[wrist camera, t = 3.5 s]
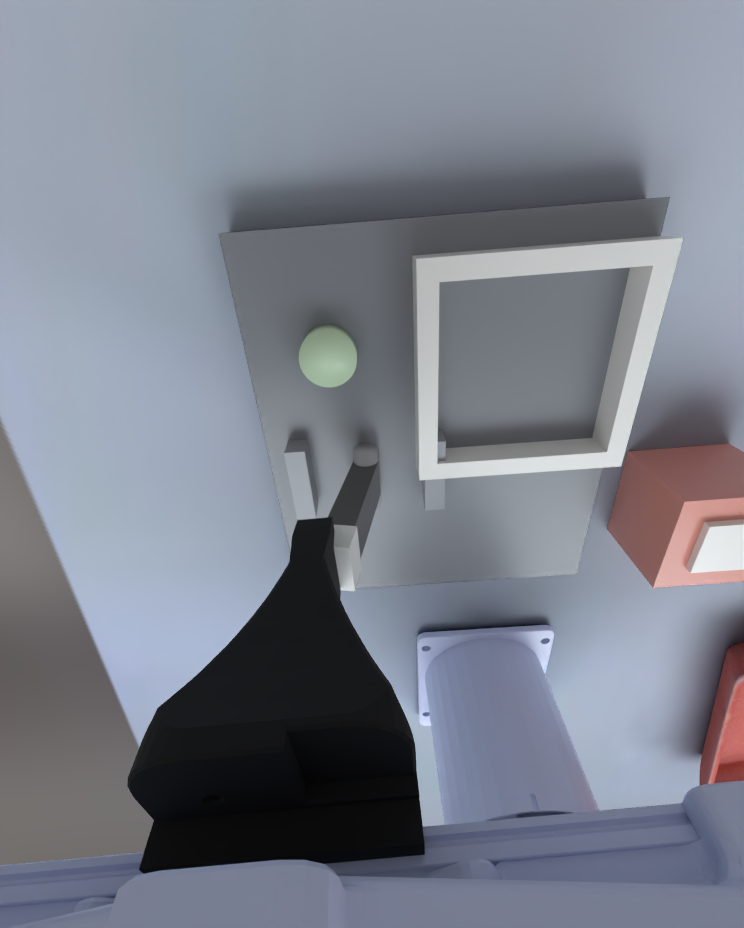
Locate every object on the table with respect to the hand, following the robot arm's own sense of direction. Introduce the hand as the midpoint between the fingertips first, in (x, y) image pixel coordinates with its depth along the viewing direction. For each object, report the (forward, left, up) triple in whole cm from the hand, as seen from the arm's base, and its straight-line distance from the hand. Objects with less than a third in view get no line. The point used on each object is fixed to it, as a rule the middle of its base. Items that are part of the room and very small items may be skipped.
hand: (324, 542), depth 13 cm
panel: (+1, -4, -6) cm, 8 cm away
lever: (0, -1, -4) cm, 5 cm away
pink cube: (-3, -15, -6) cm, 17 cm away
